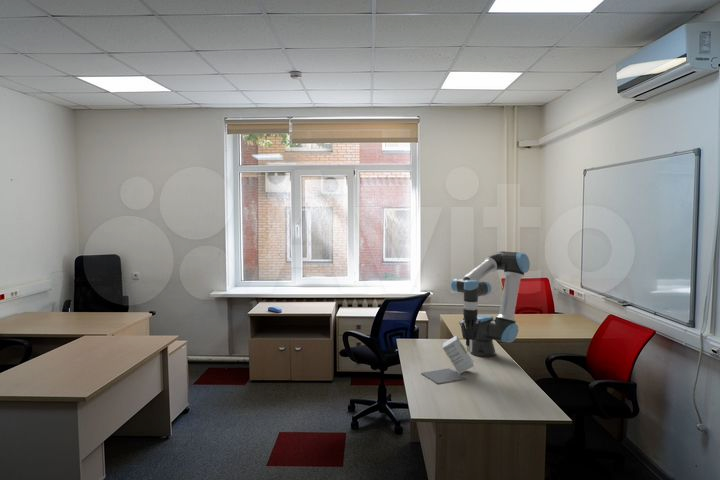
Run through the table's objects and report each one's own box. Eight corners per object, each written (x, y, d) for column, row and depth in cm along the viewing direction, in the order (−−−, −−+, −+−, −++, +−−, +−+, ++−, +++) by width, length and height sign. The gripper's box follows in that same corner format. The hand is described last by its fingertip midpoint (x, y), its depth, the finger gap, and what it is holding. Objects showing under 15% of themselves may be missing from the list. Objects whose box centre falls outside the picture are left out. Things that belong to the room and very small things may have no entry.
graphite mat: (448, 369, 261) (448, 368, 261) (466, 379, 246) (466, 377, 246) (421, 373, 253) (421, 372, 253) (437, 384, 239) (437, 383, 239)
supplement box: (474, 366, 251) (456, 339, 251) (459, 374, 252) (442, 348, 253) (473, 360, 260) (456, 334, 261) (458, 368, 262) (442, 343, 263)
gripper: (475, 306, 260) (474, 348, 262) (456, 308, 255) (455, 350, 256) (484, 309, 253) (483, 352, 255) (464, 311, 248) (463, 354, 249)
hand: (469, 351), depth 255 cm, fingers closed
